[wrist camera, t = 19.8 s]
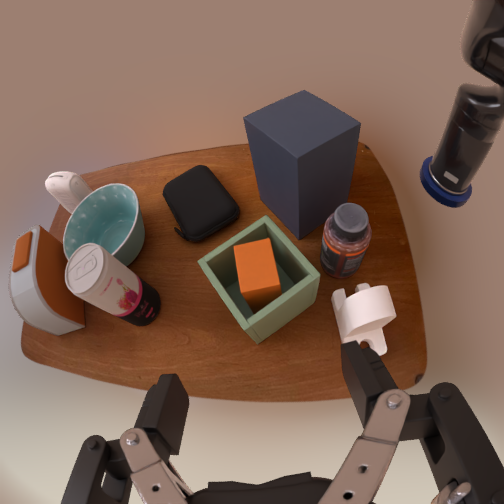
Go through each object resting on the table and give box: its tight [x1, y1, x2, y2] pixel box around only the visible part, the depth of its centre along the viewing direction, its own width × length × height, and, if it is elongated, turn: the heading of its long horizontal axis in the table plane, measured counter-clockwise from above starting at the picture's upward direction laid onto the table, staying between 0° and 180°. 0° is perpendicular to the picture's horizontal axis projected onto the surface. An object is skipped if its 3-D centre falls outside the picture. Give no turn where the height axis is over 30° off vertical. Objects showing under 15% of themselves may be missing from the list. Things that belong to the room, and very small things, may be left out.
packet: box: [234, 238, 282, 314], centre depth 33 cm, size 4×5×10 cm
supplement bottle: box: [320, 203, 372, 279], centre depth 34 cm, size 6×6×11 cm
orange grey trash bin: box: [9, 225, 85, 336], centre depth 37 cm, size 15×8×14 cm, turn 18°
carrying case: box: [163, 165, 240, 242], centre depth 46 cm, size 11×3×15 cm
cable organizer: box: [331, 283, 396, 356], centre depth 30 cm, size 5×10×10 cm, turn 9°
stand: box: [243, 90, 361, 240], centre depth 37 cm, size 10×10×17 cm
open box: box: [197, 215, 321, 344], centre depth 34 cm, size 10×10×10 cm
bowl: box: [63, 183, 145, 266], centre depth 43 cm, size 16×16×8 cm
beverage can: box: [65, 243, 161, 326], centre depth 34 cm, size 7×6×15 cm
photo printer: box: [45, 171, 93, 214], centre depth 47 cm, size 10×4×12 cm, turn 75°
